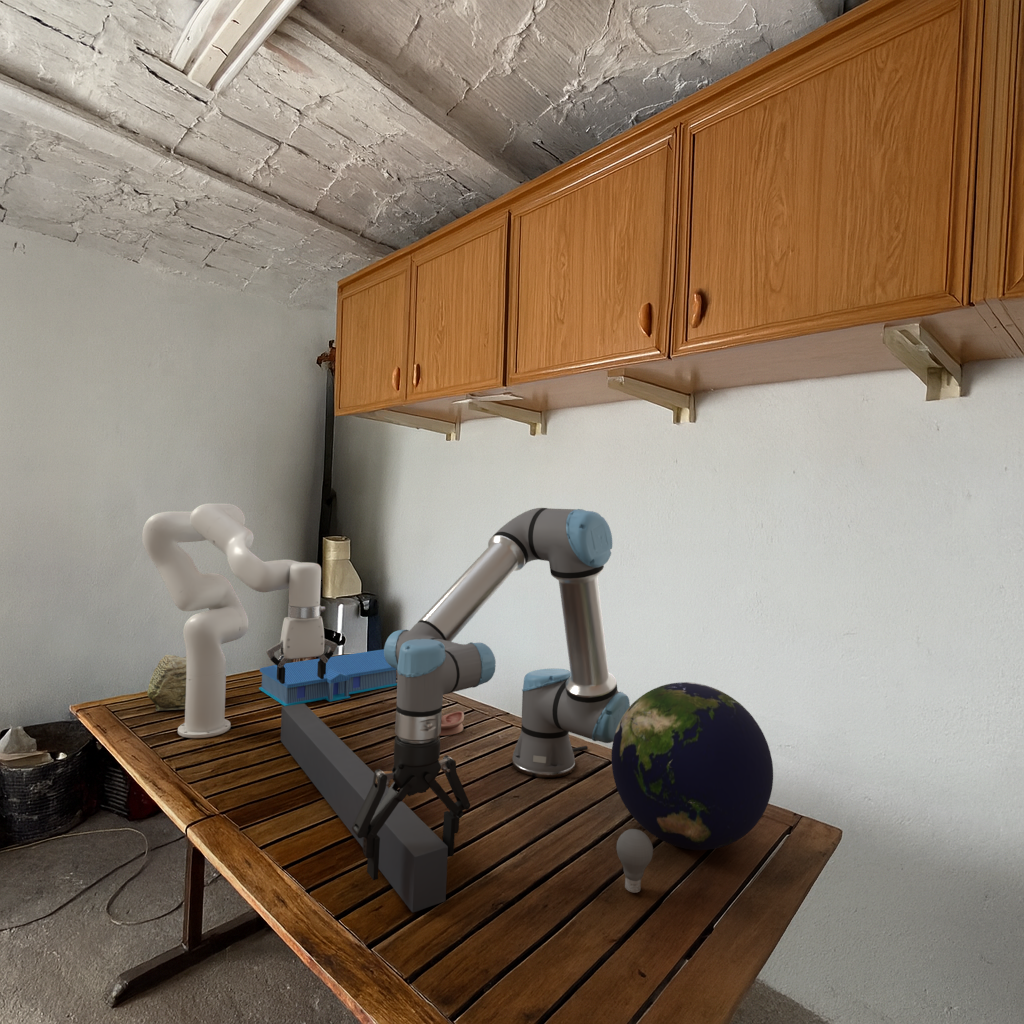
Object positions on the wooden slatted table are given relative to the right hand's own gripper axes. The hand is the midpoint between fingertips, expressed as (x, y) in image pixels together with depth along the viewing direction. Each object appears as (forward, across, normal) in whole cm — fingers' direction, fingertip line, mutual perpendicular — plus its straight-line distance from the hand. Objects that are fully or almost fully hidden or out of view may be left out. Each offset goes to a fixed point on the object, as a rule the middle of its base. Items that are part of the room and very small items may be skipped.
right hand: (411, 863), depth 104 cm
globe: (+3, +52, -13) cm, 54 cm away
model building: (+3, +23, +109) cm, 112 cm away
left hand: (-14, 0, +66) cm, 67 cm away
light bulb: (+3, +31, -20) cm, 37 cm away
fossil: (+4, -20, +111) cm, 113 cm away
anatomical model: (+3, +37, +61) cm, 71 cm away
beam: (+4, 0, +33) cm, 33 cm away
